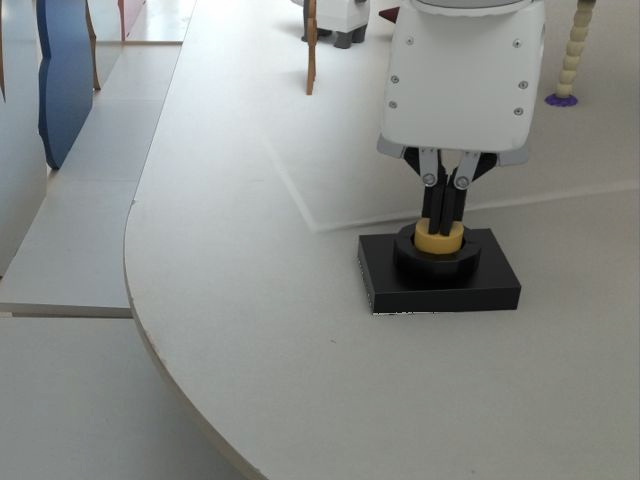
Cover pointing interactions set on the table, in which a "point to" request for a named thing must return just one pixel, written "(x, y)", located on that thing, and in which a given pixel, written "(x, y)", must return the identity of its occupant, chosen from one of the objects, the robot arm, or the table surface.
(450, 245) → the bell button
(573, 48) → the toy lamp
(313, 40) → the gingerbread man figurine
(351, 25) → the giant panda
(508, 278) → the block
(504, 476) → the table surface
